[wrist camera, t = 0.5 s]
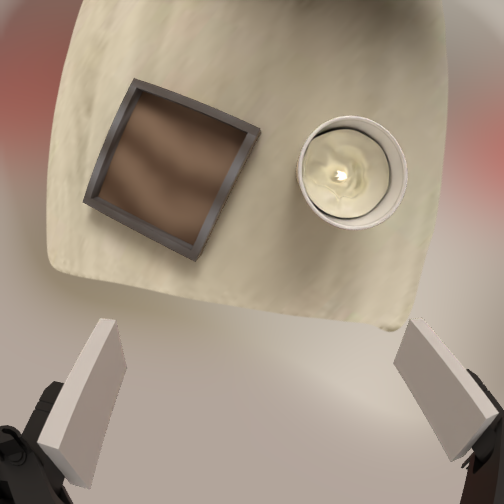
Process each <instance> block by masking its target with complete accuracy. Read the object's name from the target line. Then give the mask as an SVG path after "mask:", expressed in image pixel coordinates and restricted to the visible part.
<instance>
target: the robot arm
mask: <svg viewBox="0 0 504 504" xmlns="http://www.w3.org/2000/svg"><path fill="white" fill-rule="evenodd" d="M394 365H395V367H396V368H397V370H398V371H399V373H400V375H401V376H402V378H403V379H404V381H405V383H406V384H407V386H408V388H409V389H410V391H411V393H412V394H413V396H414V398H415V399H416V401H417V403H418V405H419V406H420V408H421V410H422V411H423V413H424V415H425V417H426V418H427V420H428V422H429V424H430V425H431V427H432V429H433V431H434V432H435V434H436V436H437V438H438V440H439V441H440V443H441V445H442V447H443V449H444V450H445V452H446V454H447V456H448V458H449V459H450V461H451V462H452V461H454V460H456V459H458V458H461V457H463V456H464V455H465V454H466V453H467V451H469V450H470V449H471V447H472V449H473V451H474V452H473V453H472V454H471V456H470V457H469V458H468V459H467V460H466V461H465V462H464V463H463V464H462V467H461V468H464V467H465V466H466V465H467V464H468V463H469V466H468V467H467V468H466V469H468V472H467V476H466V481H465V485H464V489H463V493H462V497H461V501H460V504H504V410H503V409H502V407H501V406H500V404H499V403H498V402H497V400H496V399H495V398H494V397H493V395H492V394H491V393H490V391H488V390H487V388H486V386H485V385H483V383H482V381H481V380H480V379H479V378H478V376H477V375H476V374H474V373H473V372H471V371H470V370H469V369H465V368H464V367H463V365H462V364H461V363H460V362H459V361H458V359H457V358H456V357H455V356H454V354H452V352H451V351H450V350H449V348H448V347H447V346H446V345H445V344H444V343H443V341H442V340H441V339H440V338H439V337H438V336H437V334H436V333H435V332H434V331H433V330H432V329H431V327H430V326H429V325H428V324H427V323H426V322H425V321H424V320H423V318H415V319H410V320H409V323H408V325H407V328H406V331H405V334H404V337H403V339H402V342H401V345H400V347H399V350H398V353H397V355H396V358H395V360H394ZM126 369H127V366H126V362H125V358H124V353H123V349H122V345H121V340H120V336H119V331H118V326H117V321H116V320H114V319H103V318H100V319H99V321H98V323H97V324H96V326H95V328H94V330H93V331H92V333H91V335H90V337H89V338H88V340H87V342H86V344H85V346H84V348H83V349H82V351H81V353H80V355H79V357H78V358H77V360H76V362H75V364H74V366H73V368H72V370H71V372H70V374H69V376H68V377H67V379H66V381H65V383H60V382H55V381H54V382H53V383H51V384H50V385H49V386H48V387H47V388H46V389H45V390H44V392H43V394H42V395H41V397H40V399H39V400H40V401H39V402H38V403H37V405H36V407H35V410H34V411H33V413H32V415H31V417H30V419H29V421H28V423H27V425H26V427H25V429H24V431H23V433H22V435H21V434H20V432H19V431H18V430H17V429H16V428H14V427H12V426H8V425H6V426H0V504H73V502H72V500H71V498H70V497H69V495H68V493H67V491H66V489H65V487H64V486H63V481H64V478H66V479H67V480H68V481H69V482H70V484H73V485H76V486H79V487H83V488H87V489H91V485H92V480H93V477H94V473H95V469H96V465H97V461H98V458H99V455H100V451H101V447H102V444H103V441H104V437H105V433H106V430H107V427H108V424H109V421H110V417H111V414H112V411H113V408H114V405H115V402H116V399H117V396H118V393H119V390H120V387H121V384H122V381H123V378H124V375H125V372H126Z"/></svg>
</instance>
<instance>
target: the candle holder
mask: <svg viewBox="0 0 504 504" xmlns="http://www.w3.org/2000/svg"><path fill="white" fill-rule="evenodd" d="M296 178H297V182H298V185H299V187H300V189H301V191H302V194H303V196H304V198H305V200H306V202H307V203H308V205H309V206H310V208H311V209H312V210H313V211H314V212H315V213H316V214H317V215H318V216H319V217H320V218H321V219H323V220H324V221H326V222H327V223H329V224H331V225H333V226H336V227H338V228H342V229H347V230H363V229H368V228H371V227H374V226H376V225H379V224H380V223H382V222H384V221H385V220H386V219H388V218H389V217H390V216H391V215H392V214H393V213H394V212H395V211H396V209H397V208H398V206H399V205H400V203H401V201H402V199H403V197H404V194H405V191H406V187H407V178H408V172H407V164H406V160H405V156H404V153H403V151H402V149H401V147H400V145H399V143H398V142H397V140H396V139H395V138H394V136H393V135H392V134H391V133H390V132H389V131H388V130H387V129H386V128H384V127H383V126H382V125H380V124H378V123H377V122H375V121H373V120H370V119H368V118H364V117H360V116H341V117H336V118H333V119H331V120H328V121H326V122H324V123H323V124H321V125H320V126H319V127H317V128H316V129H315V130H314V131H313V132H312V133H311V134H310V136H309V137H308V138H307V140H306V141H305V143H304V145H303V147H302V150H301V153H300V155H299V158H298V161H297V165H296Z"/></svg>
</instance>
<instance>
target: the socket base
mask: <svg viewBox="0 0 504 504" xmlns="http://www.w3.org/2000/svg"><path fill="white" fill-rule="evenodd" d="M260 133H261V130H260V128H258V127H256V126H254V125H251V124H249V123H247V122H245V121H243V120H240V119H238V118H236V117H234V116H231V115H229V114H227V113H225V112H222V111H220V110H218V109H215V108H213V107H210V106H208V105H206V104H203V103H201V102H198V101H196V100H193V99H191V98H188V97H185V96H183V95H180V94H178V93H175V92H172V91H170V90H167V89H164V88H161V87H159V86H156V85H153V84H150V83H147V82H144V81H141V80H138V79H135V78H134V79H133V81H132V83H131V85H130V87H129V89H128V91H127V93H126V95H125V97H124V99H123V101H122V103H121V105H120V107H119V109H118V112H117V114H116V116H115V118H114V120H113V123H112V125H111V127H110V130H109V132H108V134H107V137H106V139H105V142H104V144H103V147H102V149H101V152H100V154H99V157H98V159H97V162H96V165H95V167H94V170H93V173H92V176H91V178H90V181H89V184H88V187H87V190H86V193H85V196H84V199H83V203H85V204H87V205H89V206H90V207H92V208H94V209H96V210H98V211H100V212H101V213H103V214H105V215H107V216H109V217H111V218H112V219H114V220H116V221H118V222H120V223H122V224H124V225H126V226H127V227H129V228H131V229H133V230H135V231H137V232H139V233H141V234H143V235H144V236H146V237H148V238H150V239H152V240H154V241H156V242H158V243H160V244H162V245H164V246H166V247H167V248H169V249H171V250H173V251H175V252H177V253H179V254H181V255H183V256H185V257H187V258H189V259H191V260H193V261H195V262H196V260H197V259H198V258H199V257H200V256H201V254H202V251H203V249H204V247H205V245H206V243H207V241H208V239H209V236H210V234H211V232H212V230H213V228H214V226H215V224H216V222H217V220H218V217H219V215H220V213H221V211H222V209H223V207H224V205H225V203H226V201H227V199H228V197H229V195H230V193H231V191H232V189H233V187H234V185H235V183H236V181H237V179H238V177H239V175H240V173H241V171H242V169H243V167H244V165H245V163H246V161H247V159H248V157H249V155H250V153H251V151H252V149H253V147H254V145H255V143H256V141H257V139H258V137H259V135H260Z"/></svg>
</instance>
